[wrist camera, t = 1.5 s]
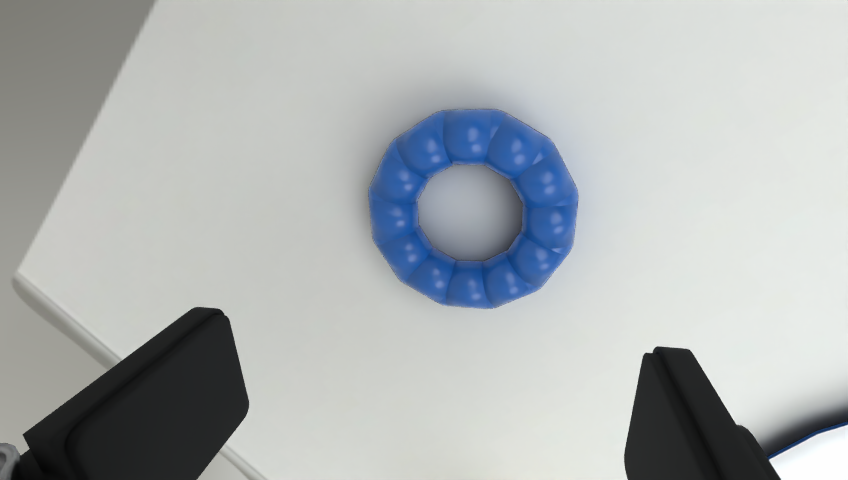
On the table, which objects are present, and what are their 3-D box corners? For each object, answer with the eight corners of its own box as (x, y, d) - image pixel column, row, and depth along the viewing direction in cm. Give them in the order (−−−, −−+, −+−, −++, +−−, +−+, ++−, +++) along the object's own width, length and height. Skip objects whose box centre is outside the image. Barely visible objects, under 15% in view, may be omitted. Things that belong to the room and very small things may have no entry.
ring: (349, 235, 22) (332, 253, 20) (432, 66, 18) (421, 67, 16) (502, 323, 22) (500, 349, 20) (617, 175, 18) (630, 189, 16)
